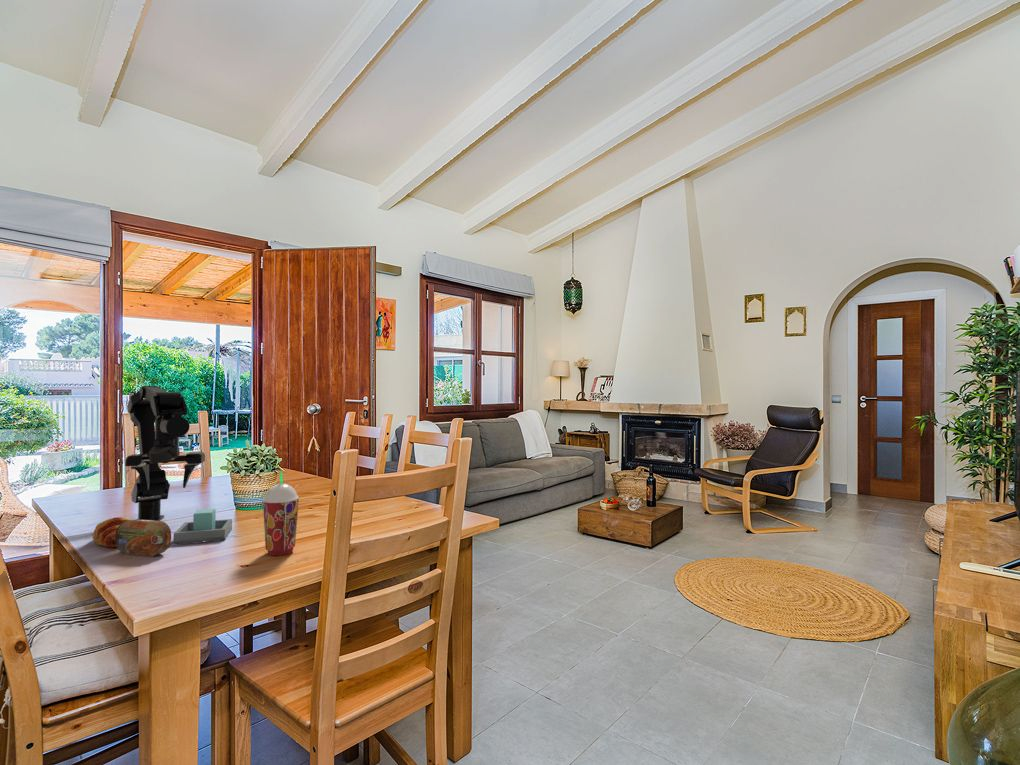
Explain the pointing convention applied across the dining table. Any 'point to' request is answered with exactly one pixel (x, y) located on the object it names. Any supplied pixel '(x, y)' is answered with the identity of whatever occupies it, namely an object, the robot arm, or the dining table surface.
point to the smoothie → (280, 518)
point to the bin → (202, 532)
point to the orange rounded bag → (143, 537)
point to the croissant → (107, 531)
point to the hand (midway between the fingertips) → (166, 488)
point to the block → (204, 520)
